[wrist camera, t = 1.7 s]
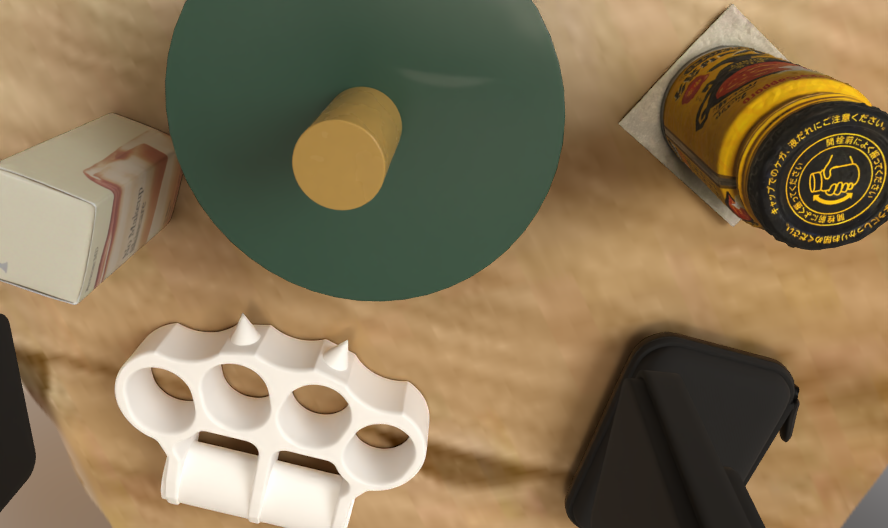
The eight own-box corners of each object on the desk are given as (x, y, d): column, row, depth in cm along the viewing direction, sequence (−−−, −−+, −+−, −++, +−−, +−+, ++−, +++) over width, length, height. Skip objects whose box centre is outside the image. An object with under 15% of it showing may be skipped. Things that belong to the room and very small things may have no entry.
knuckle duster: (128, 464, 45) (148, 271, 39) (394, 527, 47) (453, 350, 41) (103, 502, 42) (120, 299, 36) (388, 568, 44) (450, 383, 38)
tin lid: (168, 249, 31) (94, 324, 25) (186, -145, 24) (91, -173, 18) (507, 319, 32) (515, 409, 26) (613, -44, 25) (656, -39, 19)
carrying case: (706, 539, 46) (813, 358, 40) (721, 577, 43) (838, 389, 37) (553, 502, 45) (638, 312, 39) (558, 539, 42) (650, 341, 36)
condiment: (730, 2, 32) (861, 34, 21) (846, 119, 34) (1019, 203, 23) (617, 122, 35) (681, 205, 24) (730, 224, 37) (838, 344, 26)
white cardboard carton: (172, 224, 38) (76, 313, 29) (93, 195, 38) (-30, 276, 28) (194, 138, 36) (98, 205, 27) (110, 106, 35) (-17, 162, 26)
